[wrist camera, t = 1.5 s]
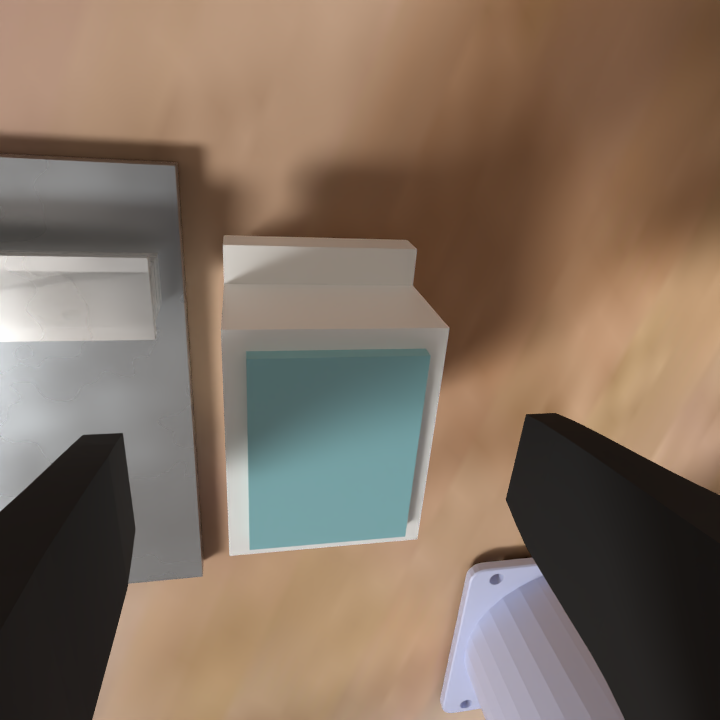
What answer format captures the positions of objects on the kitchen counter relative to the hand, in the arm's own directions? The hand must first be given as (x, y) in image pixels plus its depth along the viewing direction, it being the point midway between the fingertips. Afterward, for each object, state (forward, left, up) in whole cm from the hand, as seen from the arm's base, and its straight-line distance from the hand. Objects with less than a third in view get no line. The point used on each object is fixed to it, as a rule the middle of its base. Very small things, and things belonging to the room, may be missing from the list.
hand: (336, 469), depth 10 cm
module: (0, 0, -6) cm, 6 cm away
